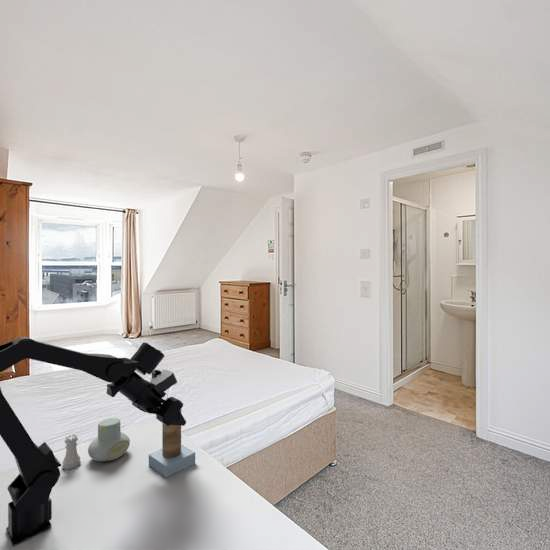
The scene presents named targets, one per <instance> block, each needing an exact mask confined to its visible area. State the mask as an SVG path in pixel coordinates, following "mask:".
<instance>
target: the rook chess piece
mask: <svg viewBox="0 0 550 550" xmlns="http://www.w3.org/2000/svg"><path fill="white" fill-rule="evenodd" d="M78 440H79V438H78V437H77V434H72V435H71V434H70V435H68V436H66V437H65V440H64V443H65V445H66V446H65V450H66V452H65V456H64V458H63V460H62V463H61V467H62V468H63V469H64V470H67V471H68V470H72V469H75V468H77V467H79V466H80V464H81V463H82V461H81V456H80V455H79V454H78V449H77V446H78V443H77V442H78Z"/></svg>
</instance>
